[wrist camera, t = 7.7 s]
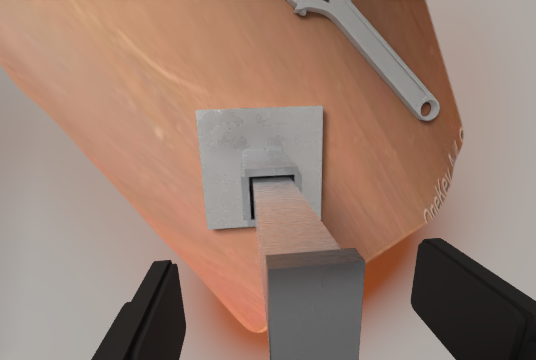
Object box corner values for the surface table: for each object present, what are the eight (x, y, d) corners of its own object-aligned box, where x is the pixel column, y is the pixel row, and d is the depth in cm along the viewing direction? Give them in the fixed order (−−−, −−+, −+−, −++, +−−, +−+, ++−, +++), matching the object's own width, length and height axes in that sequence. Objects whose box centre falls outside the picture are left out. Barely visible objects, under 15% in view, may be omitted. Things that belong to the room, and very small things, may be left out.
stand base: (197, 110, 30) (171, 109, 19) (319, 105, 31) (362, 103, 20) (209, 224, 33) (192, 281, 22) (317, 216, 34) (353, 267, 23)
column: (250, 160, 25) (268, 269, 8) (281, 158, 25) (365, 261, 8) (252, 204, 26) (272, 383, 9) (282, 202, 26) (357, 372, 9)
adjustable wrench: (435, 108, 33) (446, 108, 31) (395, 144, 34) (404, 146, 32) (304, -78, 26) (309, -91, 25) (259, -28, 27) (260, -37, 25)
